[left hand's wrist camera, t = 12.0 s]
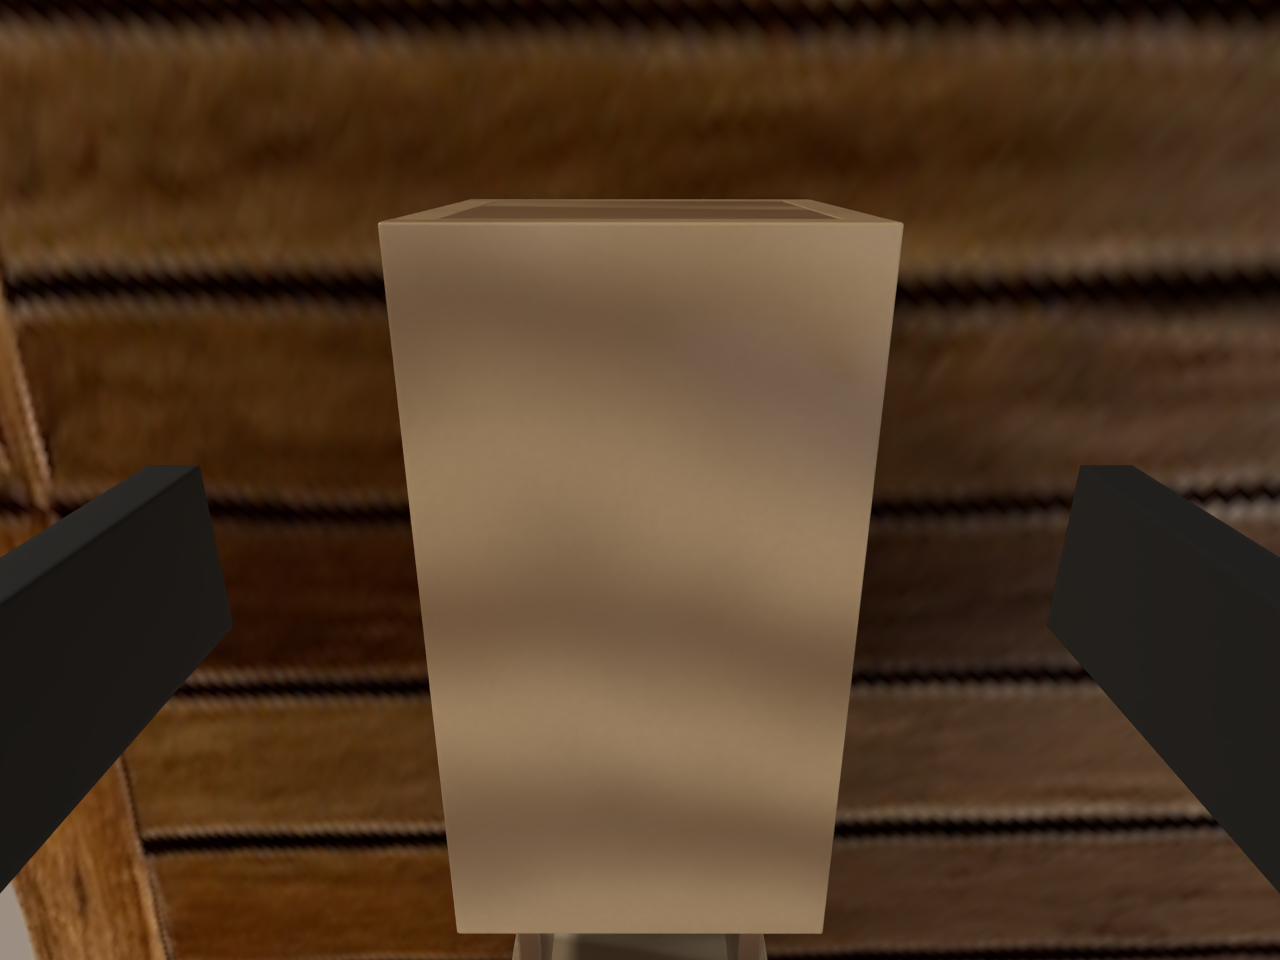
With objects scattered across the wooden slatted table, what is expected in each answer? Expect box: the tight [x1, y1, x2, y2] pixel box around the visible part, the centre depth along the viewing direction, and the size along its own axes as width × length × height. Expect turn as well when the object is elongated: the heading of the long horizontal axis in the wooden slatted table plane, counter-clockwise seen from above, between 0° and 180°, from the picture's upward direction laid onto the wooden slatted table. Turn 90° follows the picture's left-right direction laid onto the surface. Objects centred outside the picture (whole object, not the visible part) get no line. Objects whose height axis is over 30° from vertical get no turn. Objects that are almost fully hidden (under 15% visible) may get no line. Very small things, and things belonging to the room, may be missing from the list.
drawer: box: [512, 933, 767, 960], centre depth 31 cm, size 26×10×8 cm, turn 0°
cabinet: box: [378, 199, 903, 934], centre depth 27 cm, size 21×12×10 cm, turn 0°
